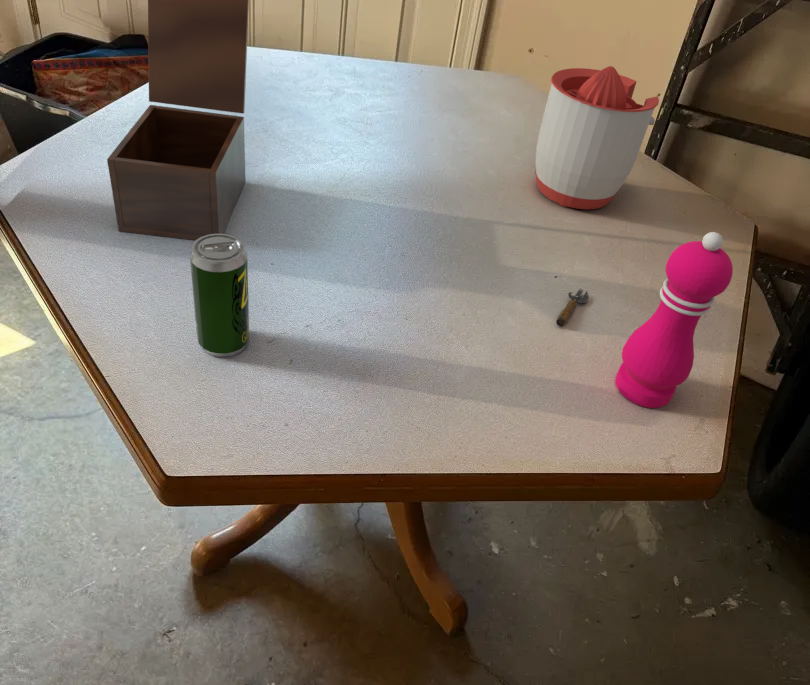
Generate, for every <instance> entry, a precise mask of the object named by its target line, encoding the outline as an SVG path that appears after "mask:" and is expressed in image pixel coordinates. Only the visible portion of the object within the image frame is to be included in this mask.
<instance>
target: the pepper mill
mask: <svg viewBox="0 0 810 685" xmlns="http://www.w3.org/2000/svg"><path fill="white" fill-rule="evenodd" d="M723 243H724V239H723V236H722V235H721V234H720V233H718V232H715V231H710V232H708V233H706V234H705V235H704V236H703V238H702V240H693V241H692V240H691V241H687V242H685V243H683V244H681V245H679V246H677V247H676V248H675V249H674V250H673V251H672V252H671V254H670V256H669V257H668V258H667V261H666V264H665V275H666V277H667V278H666V279H664V281H663V283H662V287H661V288H660V290H659V297H660V301H659V304H658V306H657V308H656V310H655V311H654V313H653V314H652V315H651V316H650V317H649V318H648V319H647V320H646V321H645V322H644V323H643V324H642V325H640V326H639V327H637V328H636V329H635V330H634V331H633V332H632V334H631V335H630V336H629V337H628V338H627V339H626V340H625V341H626V342H624V345H623V347H622V350H621V360H622V363H621V364H620V366H619V368H618V370H617V373H616V375H615V377H614V378H615V379H614V383H615V387H616V389H617V390H618V392H619V393H620V394H621V395H622V396H623V397H624V398H625V399H627V400H628V401H629V402H631V403H633V404H634V405H637V406H640V407H643V408H649V409H658V408H662V407H665V406H667V405H668V404H669V403H670V402H671V400H672V398H673V396H674V395H675V392H676V391H677V386H680V385H681V384H683V383H684V382H685V381H686V380H687V379H688V378H689V377H690V374H691V372H692V370H693V367H694V359H695V350H694V348H695V347H694V336H695V332H696V331H695V330H696V327H697V325H698V323H699V320H700V319H701V317H702V316H704V315H706V314H708V313H709V312H710V311H711V309H712V308H711V307H712V305H713V304H714V302H715V299H716V298H715V297H718V296H719V295H721V294H722V293H724V292H725V291H726V289H727V288H728V287H729V285H730V283H731V281H732V278H733V274H734V270H733V269H734V268H733V262H732V259H731V257H730V256H729V254H728V253H727V252H726V251H725V250H724V249H722V246H723Z"/></svg>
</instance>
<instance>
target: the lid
mask: <svg viewBox="0 0 810 685" xmlns="http://www.w3.org/2000/svg"><path fill="white" fill-rule="evenodd" d="M249 5H250V0H147V41H148V42H147V44H148V52H147V53H148V54H147V55H148V57H147V58H148V102H151V103H157V104H165V105H172V106H173V105H174V106H180V107H181V106H182V107H188V108H198V109H202V110H203V109H204V110H205V109H206V110H212V111H219V112H227V113H234V114H245V113H246V112H245V110H246V85H247V84H246V83H247V60H248V59H247V58H248V57H247V56H248V31H249V30H248V29H249V8H250V6H249Z"/></svg>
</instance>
